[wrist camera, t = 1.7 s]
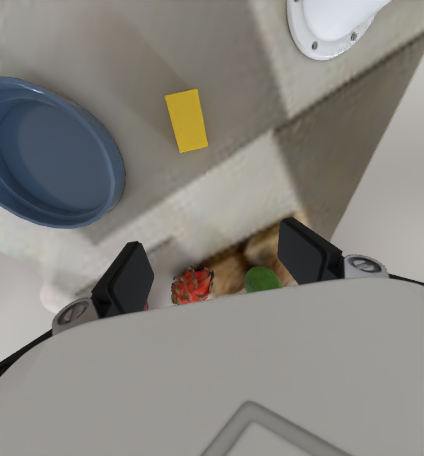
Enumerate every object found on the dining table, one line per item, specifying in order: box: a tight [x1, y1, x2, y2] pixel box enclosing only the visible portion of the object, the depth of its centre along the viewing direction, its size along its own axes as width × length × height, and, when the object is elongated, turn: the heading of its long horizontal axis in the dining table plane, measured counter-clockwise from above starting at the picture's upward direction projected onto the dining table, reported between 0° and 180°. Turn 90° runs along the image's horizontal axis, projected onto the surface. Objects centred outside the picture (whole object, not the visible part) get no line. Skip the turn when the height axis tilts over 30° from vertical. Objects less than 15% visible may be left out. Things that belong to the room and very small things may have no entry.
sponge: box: [165, 88, 208, 152], centre depth 24 cm, size 7×4×3 cm, turn 11°
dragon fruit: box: [171, 266, 214, 305], centre depth 36 cm, size 8×8×12 cm
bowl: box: [0, 76, 125, 229], centre depth 24 cm, size 19×19×4 cm
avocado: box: [245, 266, 283, 293], centre depth 35 cm, size 8×8×12 cm
